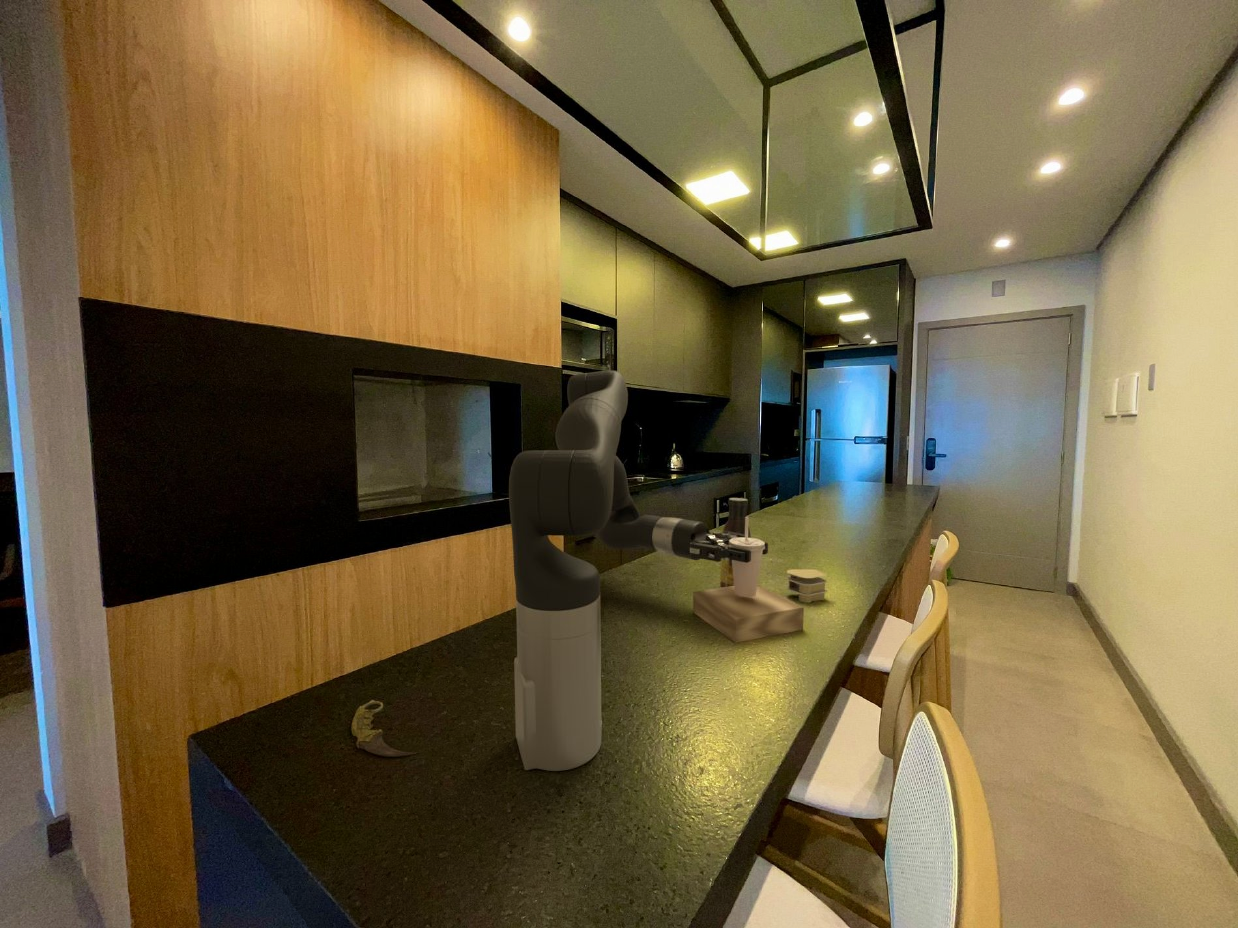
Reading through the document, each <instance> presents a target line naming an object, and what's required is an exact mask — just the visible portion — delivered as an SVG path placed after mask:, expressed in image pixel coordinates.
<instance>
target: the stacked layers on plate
mask: <svg viewBox="0 0 1238 928" xmlns="http://www.w3.org/2000/svg"><path fill="white" fill-rule="evenodd" d="M786 574H790V575H787V576H786V581H788V585H786V590H787V591H790V592H793V593H796V594H798V601H799V602H801V603H812V601H820V600H821V601H823V600H825V597H826V596H825V593H828V590H826V583H828V580H826V579H824V578H822V577H824V576H825V577H826V576H828V574H827V573H825V572H823V571H820V570H817V569H805V568H804V569H787V571H786Z"/></svg>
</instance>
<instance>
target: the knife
mask: <svg viewBox="0 0 1238 928" xmlns="http://www.w3.org/2000/svg"><path fill="white" fill-rule="evenodd" d="M372 705H379V707H378V708H376V709H366V708H368V707H369V706H372ZM383 708H384V704H383V702H382V701H378V700H374V699H372V700H370V701H369V702H367V703H365V704H363V705H360V706H358V707H357V709H356V711H355V714H354V716H353V718H352V722H351V734H352V736H353V737H356V738H357V740H356V747H357V748H358V749H361V750H365V751H367V752H368V753H370V754H375V755H377V756H382V757H392V758H394V757H395V758H397V757H399V758H400V757H408V756H409V757H410V756H414V755H417V754H421V753H422V751H421V752H417V751H416V752H413V751H411V752H408V751H402V750H398V749H395V748H392V747H390V746H389V745H388V744H387V743H386V742H384V739H383V736H384V731H383V729H381V728H380V729H372V728H373V727H374V725H373V724H372V721H373V720H374V717H373V715H374V714H376V713H378V712H379V711H382V709H383Z"/></svg>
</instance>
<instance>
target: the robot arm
mask: <svg viewBox="0 0 1238 928" xmlns="http://www.w3.org/2000/svg"><path fill="white" fill-rule="evenodd" d="M566 390H567V391H566V392H567V402H568V403H567V404H568V407H566V409H565V411H563V413H562V415H561V417H560V419H559V421H558V423H557V426H556V429H555V442H556V443H555V444H556V446H557V450H556V449H555V450H553V449H551V450H550V449H549V450H548V449H547V450H524V451H522V452H519V454H517V455H516V457H515V458H514V459H513V462H512V465H511V467H510V472H509V478H508V480H509V481H508V501H509V502H508V503H509V516H510V525H511V526H510V528H511V539H512V551H513V552H512V553H513V554H512V555H513V556H512V557H513V559H512V560H513V561H512V562H513V575H514V583H515V602H516V603H515V609H516V610H515V611H516V613H515V615H516V646H517V647H516V648H517V650H516V651H517V653H516V654H517V655H516V657H515V658H514V661H513V663H514V664H513V665H514V667H513V668H514V708H515V711H514V712H515V716H514V717H515V738H516V742H517V745H518V749H519V753H520V758H521V761H522V765H523V769H524V770H526V771H529V770H533V769H539V770H544V771H548V772H549V771H550V772H551V771H552V772H558V771H559V772H560V771H567V770H572V769H575V768H578V767H580V766H583V765H584V764H587V763H588V762H589V761H591V760H592V759H593V758H594V757H595V756H596V755H597V753H598V752H599V750H600V748H601V745H602V728H603V724H602V723H603V722H602V663H601V662H602V660H601V659H602V656H601V655H602V654H601V653H602V650H601V649H602V646H601V644H602V642H601V639H602V637H601V635H602V634H601V630H602V629H601V623H602V622H601V619H602V618H601V577H600V572H599V570H598V569H597V568H596V566H595V565H593V564H591V563H590V562H588V561H586V560H583V559H580V558H578V557H577V556H576V557H575V556H573V555H572V554H571V555H570V554H568V553H566V552H565V551H563V550H561V549H560V548H558V547H557V546H556V545H555V544H554V543H553V542H552V541H551V540H550V538H549V536H560V537H561V536H569V537H570V536H571V537H572V536H573V537H574V536H579V537H582V536H583V537H584V536H590V535H595V534H596V536H597V538H598V540H599V541H600V543H602V545H603V546H606V547H608V548H609V549H613V550H631V549H632V550H633V549H634V550H635V549H641V548H643V549H644V548H645V549H649V550H654V551H657V552H662V553H664V554H666V555H670V556H675V557H678V558H683V559H689V560H693V561H699V560H706V561H712V562H720V563H721V559H723V560H729V558H730V559H731V560H736V561H740V562H745V563H748V562H750V561H751V551H750V550H748V549H743V548H738V547H733V546H731V547H730V546H729V540H730V539H732V538H740V537H745V534H740V533H735V532H729V531H724V534H723V532H721V531H713V532H712V533H711V532H710V530H709V527H708V526H707V524H706V523H704V522H703V521H697V520H693V519H692V520H690V519H685V518H680V517H679V518H678V517H664V516H660V515H659V516H657V515H652V514H651V515H649V514H643V515H640V512H639V510H638V508H637V506H636V504H635V502H634V499H633V498H632V495H631V494H630V489H629V488H630V487H629V483H628V478H627V472H626V469H625V467H624V464H623V463H622V461H621V460H620V458H619V457H618V456H617V455H616V454H617V450H618V446H619V444H620V443H619V442H620V437H621V430H622V421H623V419H624V417H625V415H626V413H627V408H628V401H629V398H628V397H629V392H628V387H627V383H626V380H625V379H624V377H623V376H622V374H621V373H620V372H618V371H617V370H610V369H609V370H603V371H602V370H600V371H593V372H585V373H579V374H574V375H572V376H570V378H569V379H568V382H567V389H566ZM750 535H751V534H750ZM750 535H748V538H752V536H750ZM764 542H765V549H764V550H763V552H762V556H764V555H767V554H768V553H769V544H768V542H766V541H764Z"/></svg>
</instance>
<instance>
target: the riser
mask: <svg viewBox="0 0 1238 928" xmlns="http://www.w3.org/2000/svg"><path fill="white" fill-rule="evenodd" d="M804 610H805V609H804V606H802V605H800V604H798V603H796V602H794V601H792V600H790V599H788V598H786V597H784V596H782V595H779V594H778V593H776V592H773V591H772V590H770V589H767V588H765V587H764V586H761V585H759V584H757V590H756V595H755V596H753V597H743V596H739V595H737V594H735V588H734V586H729V587H722V588H721V587H716V588H709V589H704V590H696V591H692V613H694V614H695V615H696V616H698V617H700V619H702V621H704V622H706V623H708V624H709V625H710V626H712V627H713V628H715V630H717V631H719V632H720V633H721V634H722V635H724V636H726V637H727V638H728V639H730V640H731V642H734V643H735V644H737V643H741V642H746V641H747V642H748V641H752V640H756V639H762V638H767V637H772V636H776V635H782V634H787V633H792V632H796V631H797V632H798V631H803V630H804V617H805V616H804V615H805V614H804Z"/></svg>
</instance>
